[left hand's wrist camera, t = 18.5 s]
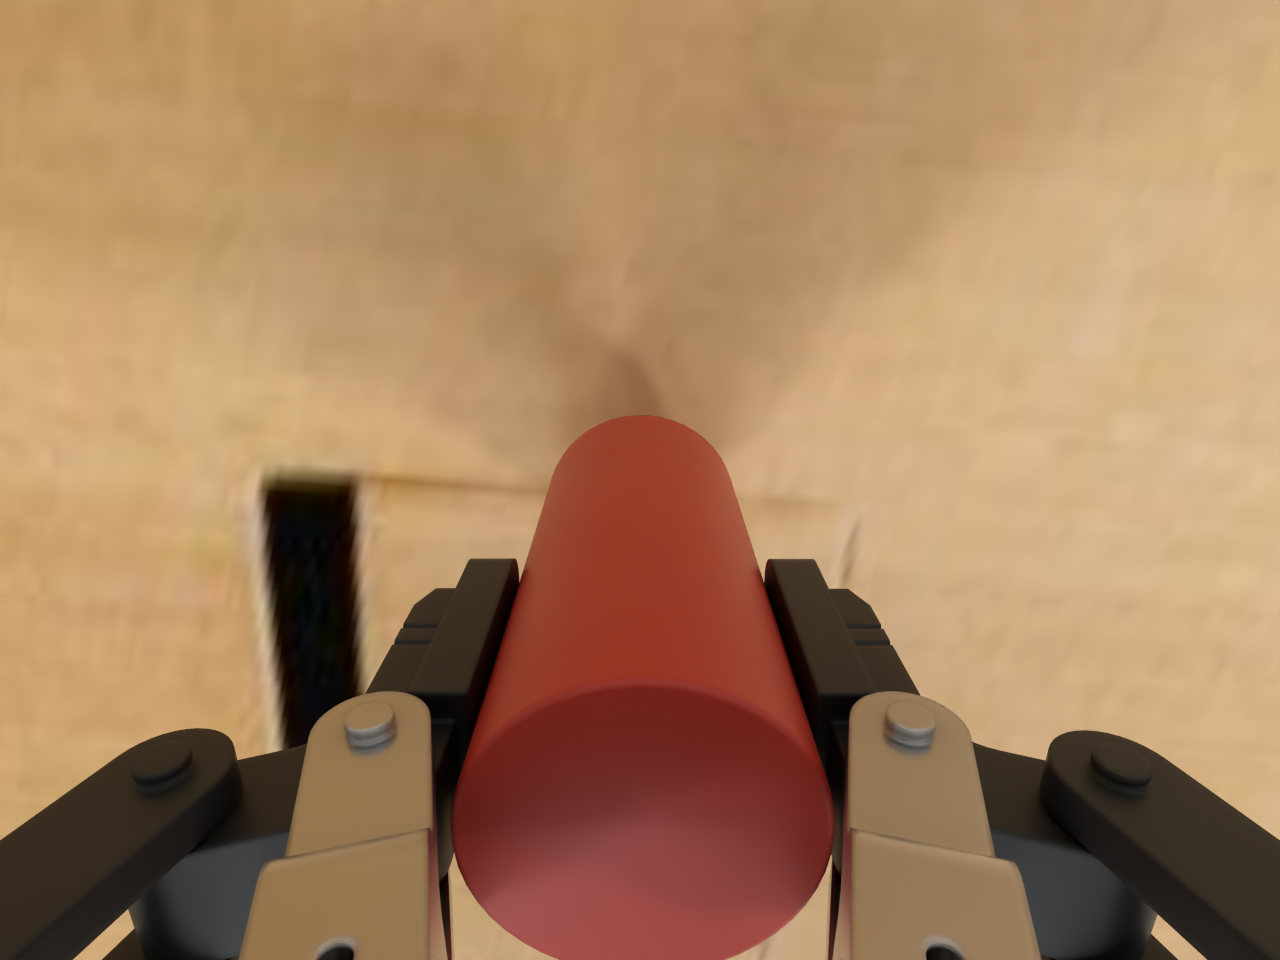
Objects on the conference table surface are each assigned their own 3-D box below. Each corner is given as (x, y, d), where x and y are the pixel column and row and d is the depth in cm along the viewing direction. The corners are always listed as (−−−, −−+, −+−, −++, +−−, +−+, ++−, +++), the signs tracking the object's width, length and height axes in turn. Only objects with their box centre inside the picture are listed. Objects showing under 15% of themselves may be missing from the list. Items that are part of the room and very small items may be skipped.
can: (766, 465, 16) (914, 776, 7) (678, 610, 17) (717, 1019, 9) (598, 381, 15) (547, 615, 7) (519, 538, 17) (390, 904, 8)
